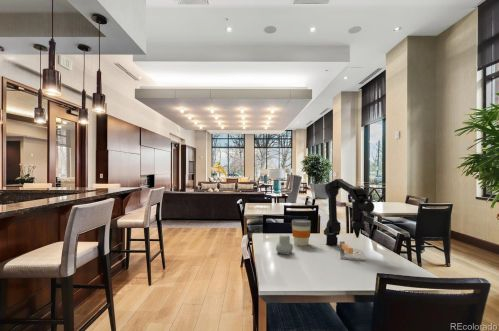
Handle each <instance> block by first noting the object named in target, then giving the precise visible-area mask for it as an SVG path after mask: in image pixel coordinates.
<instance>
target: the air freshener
mask: <svg viewBox="0 0 499 331" xmlns="http://www.w3.org/2000/svg"><path fill="white" fill-rule="evenodd" d="M290 238H291V236H290V235H289V234H284V233H283V234H280V235H279V242H277V243H276V246H275V251H276V252H277V253H279V254H282V255H289V254H291V253H292V252H293V248H294V246H293V243H291V239H290Z"/></svg>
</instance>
